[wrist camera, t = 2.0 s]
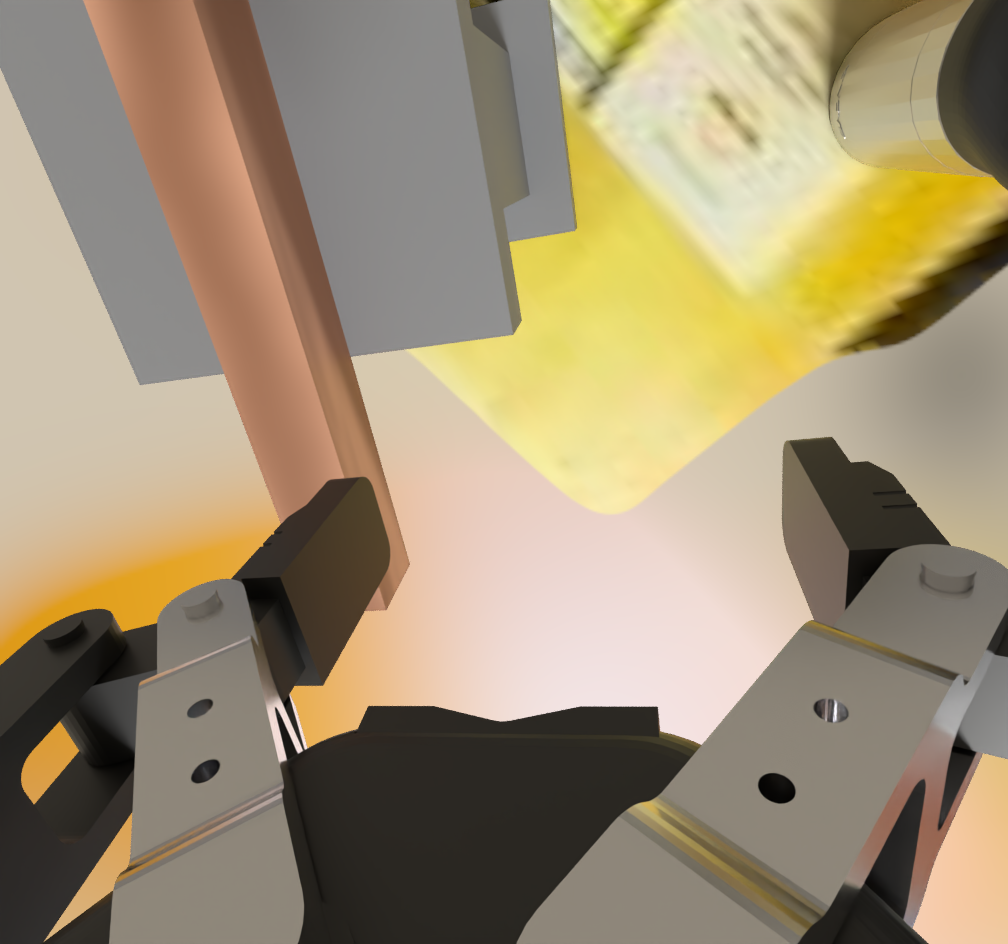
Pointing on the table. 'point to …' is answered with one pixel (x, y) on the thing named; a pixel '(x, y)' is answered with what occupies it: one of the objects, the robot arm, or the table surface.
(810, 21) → the table surface
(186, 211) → the bar
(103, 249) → the stand
